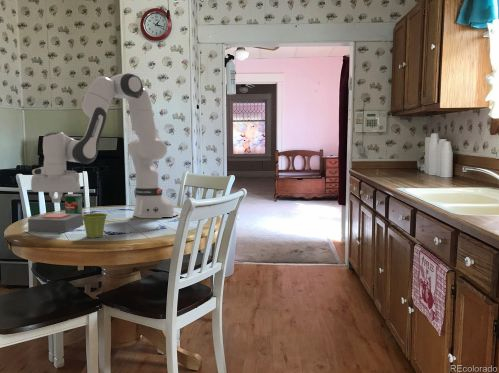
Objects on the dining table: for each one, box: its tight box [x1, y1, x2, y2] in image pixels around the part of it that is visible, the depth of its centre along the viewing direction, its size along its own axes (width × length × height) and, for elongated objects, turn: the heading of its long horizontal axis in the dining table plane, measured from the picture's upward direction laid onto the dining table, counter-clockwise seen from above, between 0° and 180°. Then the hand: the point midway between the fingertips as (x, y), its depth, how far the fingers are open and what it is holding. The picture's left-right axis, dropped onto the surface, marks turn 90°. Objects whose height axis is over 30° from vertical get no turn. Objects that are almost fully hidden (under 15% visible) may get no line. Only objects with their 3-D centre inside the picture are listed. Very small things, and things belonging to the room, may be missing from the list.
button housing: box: [27, 212, 84, 233], centre depth 192 cm, size 16×16×5 cm
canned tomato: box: [64, 193, 83, 214], centre depth 220 cm, size 8×8×11 cm
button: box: [43, 214, 70, 218], centre depth 192 cm, size 8×8×4 cm
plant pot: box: [82, 212, 108, 239], centre depth 176 cm, size 9×9×9 cm
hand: (56, 202), depth 191 cm, fingers closed
